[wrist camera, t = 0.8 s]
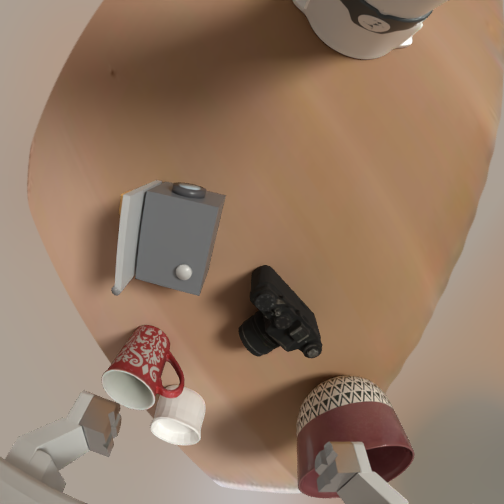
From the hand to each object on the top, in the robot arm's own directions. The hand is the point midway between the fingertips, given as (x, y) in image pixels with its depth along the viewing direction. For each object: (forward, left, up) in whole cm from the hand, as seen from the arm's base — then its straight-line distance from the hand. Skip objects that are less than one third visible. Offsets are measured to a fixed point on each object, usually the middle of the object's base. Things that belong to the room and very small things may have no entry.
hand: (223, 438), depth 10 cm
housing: (+4, -9, -36) cm, 37 cm away
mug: (+27, -10, -36) cm, 46 cm away
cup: (+41, -4, -36) cm, 55 cm away
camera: (+14, +7, -36) cm, 39 cm away
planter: (+30, +26, -36) cm, 54 cm away
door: (+5, -14, -35) cm, 38 cm away
